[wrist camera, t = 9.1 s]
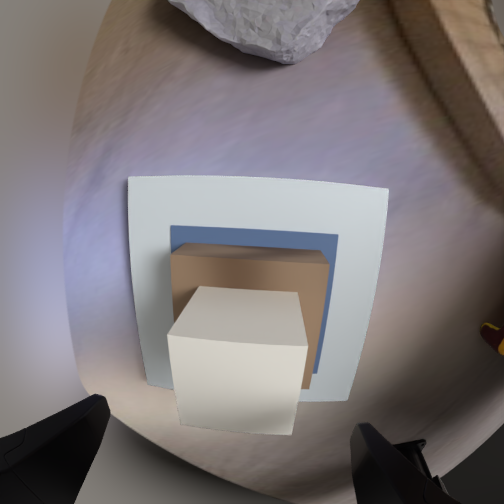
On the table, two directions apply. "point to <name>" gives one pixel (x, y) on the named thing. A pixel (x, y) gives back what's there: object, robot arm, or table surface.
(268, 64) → the table surface
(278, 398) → the plastic cube
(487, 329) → the decorative lantern
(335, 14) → the stone block
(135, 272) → the board
